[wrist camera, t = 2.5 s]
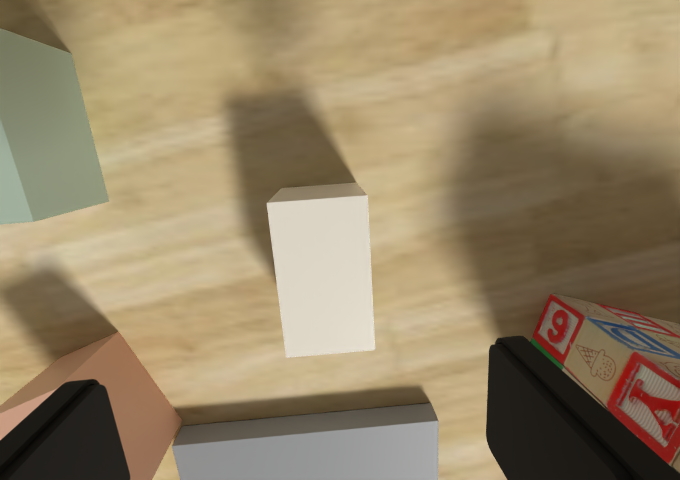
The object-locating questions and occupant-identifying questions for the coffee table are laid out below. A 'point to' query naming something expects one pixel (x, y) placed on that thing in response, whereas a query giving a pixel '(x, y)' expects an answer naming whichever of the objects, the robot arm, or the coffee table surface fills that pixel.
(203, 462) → the slate board
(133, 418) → the terracotta brick
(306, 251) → the ivory brick
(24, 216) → the sage brick
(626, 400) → the stack of blocks
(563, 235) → the coffee table surface
